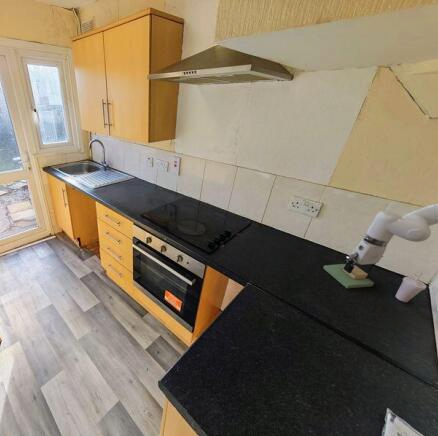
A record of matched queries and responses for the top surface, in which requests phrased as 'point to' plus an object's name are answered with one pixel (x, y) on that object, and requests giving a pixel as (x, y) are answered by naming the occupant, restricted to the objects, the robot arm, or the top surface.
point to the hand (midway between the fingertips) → (356, 270)
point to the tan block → (356, 273)
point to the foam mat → (346, 277)
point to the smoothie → (409, 288)
